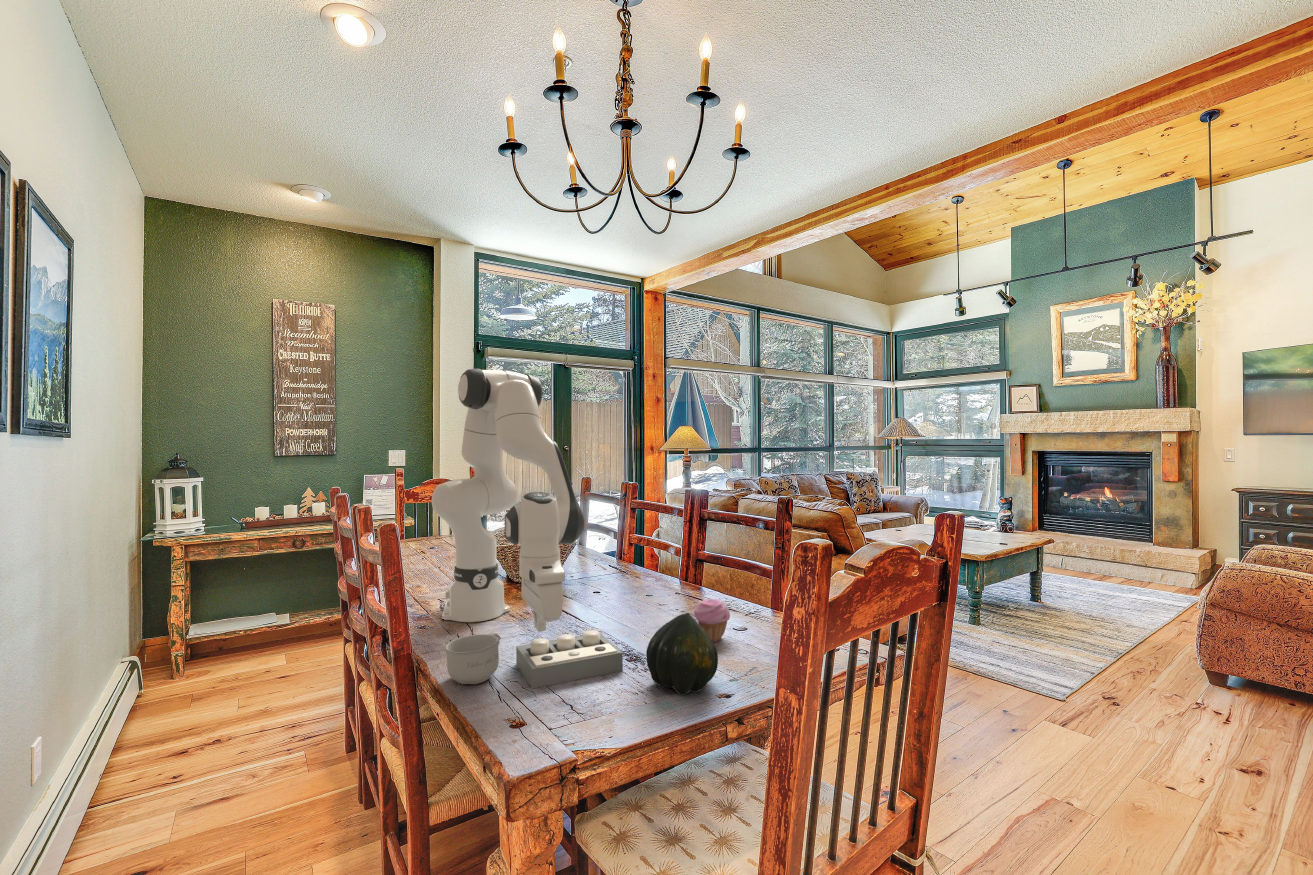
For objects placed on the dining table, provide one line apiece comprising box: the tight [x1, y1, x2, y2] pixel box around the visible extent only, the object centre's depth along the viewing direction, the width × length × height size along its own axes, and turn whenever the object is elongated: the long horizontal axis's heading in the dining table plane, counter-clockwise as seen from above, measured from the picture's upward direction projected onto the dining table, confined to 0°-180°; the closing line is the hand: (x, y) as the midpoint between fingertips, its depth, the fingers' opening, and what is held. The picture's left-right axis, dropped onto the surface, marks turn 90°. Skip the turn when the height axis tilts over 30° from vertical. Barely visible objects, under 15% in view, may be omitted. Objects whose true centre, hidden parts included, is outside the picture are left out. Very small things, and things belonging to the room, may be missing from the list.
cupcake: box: [693, 598, 731, 643], centre depth 148 cm, size 9×9×10 cm
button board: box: [515, 632, 624, 690], centre depth 130 cm, size 14×20×4 cm
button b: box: [556, 633, 576, 652], centre depth 132 cm, size 4×4×3 cm
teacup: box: [444, 631, 501, 685], centre depth 126 cm, size 14×11×8 cm
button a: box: [529, 638, 550, 657], centre depth 129 cm, size 4×4×3 cm
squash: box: [645, 612, 719, 696], centre depth 121 cm, size 14×15×15 cm
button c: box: [581, 629, 601, 647], centre depth 135 cm, size 4×4×3 cm
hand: (540, 629), depth 129 cm, fingers closed
